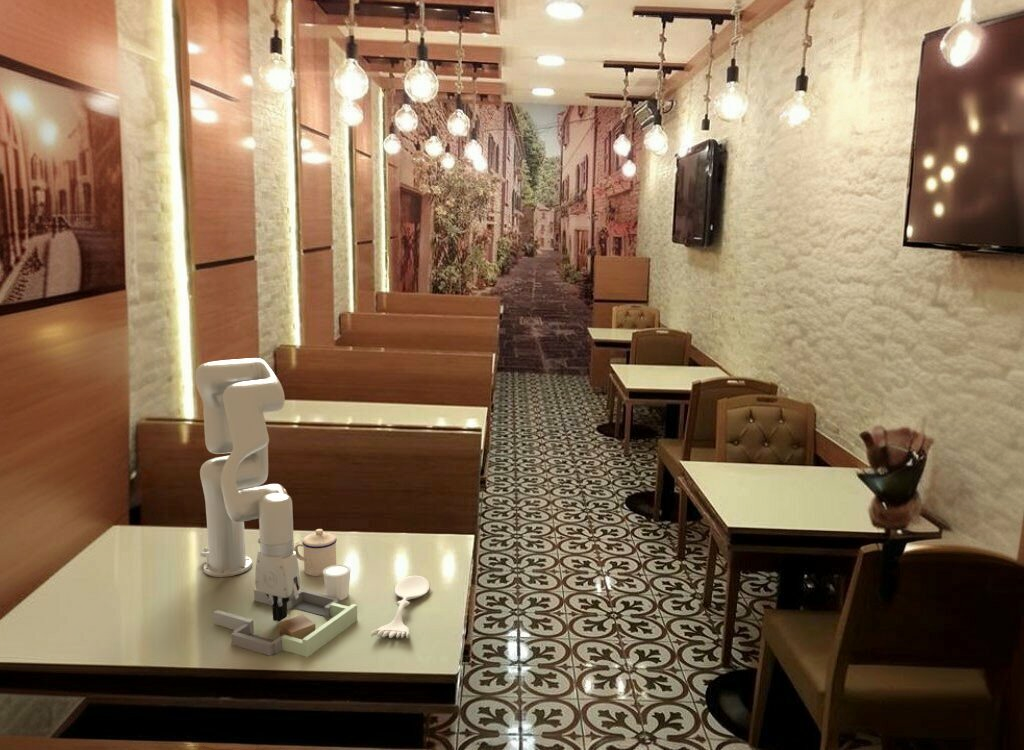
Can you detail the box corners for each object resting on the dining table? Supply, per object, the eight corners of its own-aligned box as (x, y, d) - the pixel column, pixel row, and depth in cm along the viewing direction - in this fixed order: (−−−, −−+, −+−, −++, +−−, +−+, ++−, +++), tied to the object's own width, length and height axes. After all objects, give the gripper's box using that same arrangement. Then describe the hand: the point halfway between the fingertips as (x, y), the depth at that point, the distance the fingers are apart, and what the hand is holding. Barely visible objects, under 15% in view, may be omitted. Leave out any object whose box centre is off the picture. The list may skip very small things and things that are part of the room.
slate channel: (208, 627, 184) (207, 611, 183) (263, 595, 200) (262, 580, 200) (307, 657, 172) (306, 640, 171) (357, 620, 188) (356, 604, 188)
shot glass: (344, 603, 197) (343, 577, 195) (319, 600, 198) (318, 574, 197) (355, 591, 203) (354, 565, 202) (330, 588, 205) (329, 563, 203)
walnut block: (279, 639, 180) (278, 622, 179) (302, 630, 184) (302, 614, 183) (292, 649, 175) (291, 632, 175) (315, 639, 180) (315, 623, 179)
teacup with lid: (342, 564, 219) (341, 525, 217) (329, 578, 210) (328, 537, 208) (302, 560, 221) (301, 521, 219) (287, 574, 212) (286, 533, 210)
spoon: (369, 646, 177) (369, 632, 177) (399, 583, 209) (399, 571, 208) (408, 648, 177) (408, 634, 176) (432, 584, 208) (432, 572, 207)
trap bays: (229, 643, 177) (229, 633, 177) (301, 597, 199) (301, 588, 199) (272, 656, 172) (271, 646, 171) (341, 608, 194) (341, 598, 194)
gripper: (240, 546, 183) (244, 618, 186) (291, 558, 177) (294, 633, 180) (263, 535, 189) (266, 605, 193) (313, 546, 183) (315, 618, 187)
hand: (280, 618), depth 186 cm, fingers closed
